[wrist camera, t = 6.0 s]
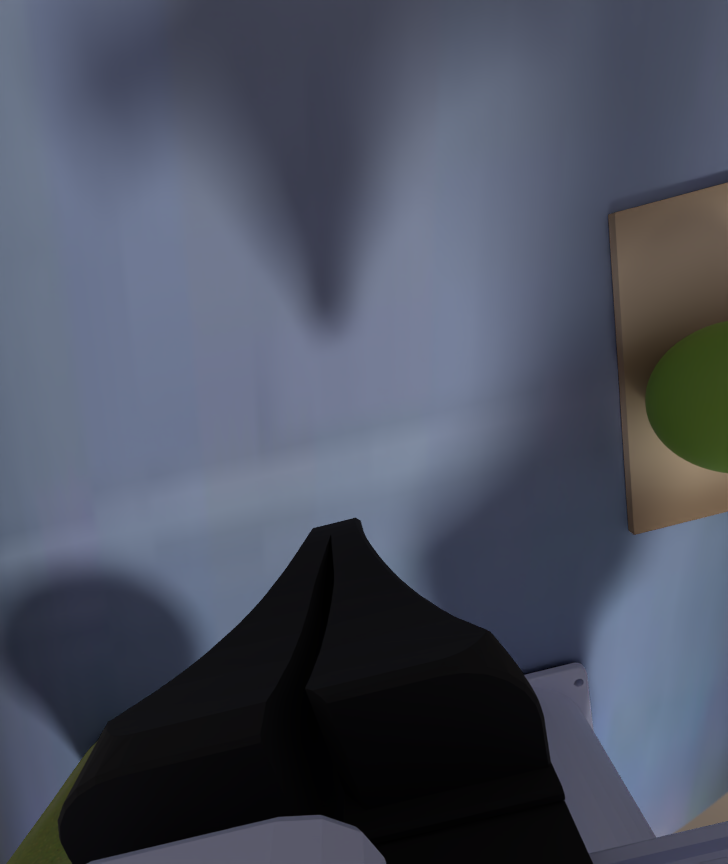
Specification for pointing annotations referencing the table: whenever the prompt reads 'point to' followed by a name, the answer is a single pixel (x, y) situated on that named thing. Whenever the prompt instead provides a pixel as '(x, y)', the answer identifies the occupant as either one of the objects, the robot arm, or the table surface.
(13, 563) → the table surface
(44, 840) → the plant pot
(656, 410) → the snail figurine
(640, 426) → the cork mat
